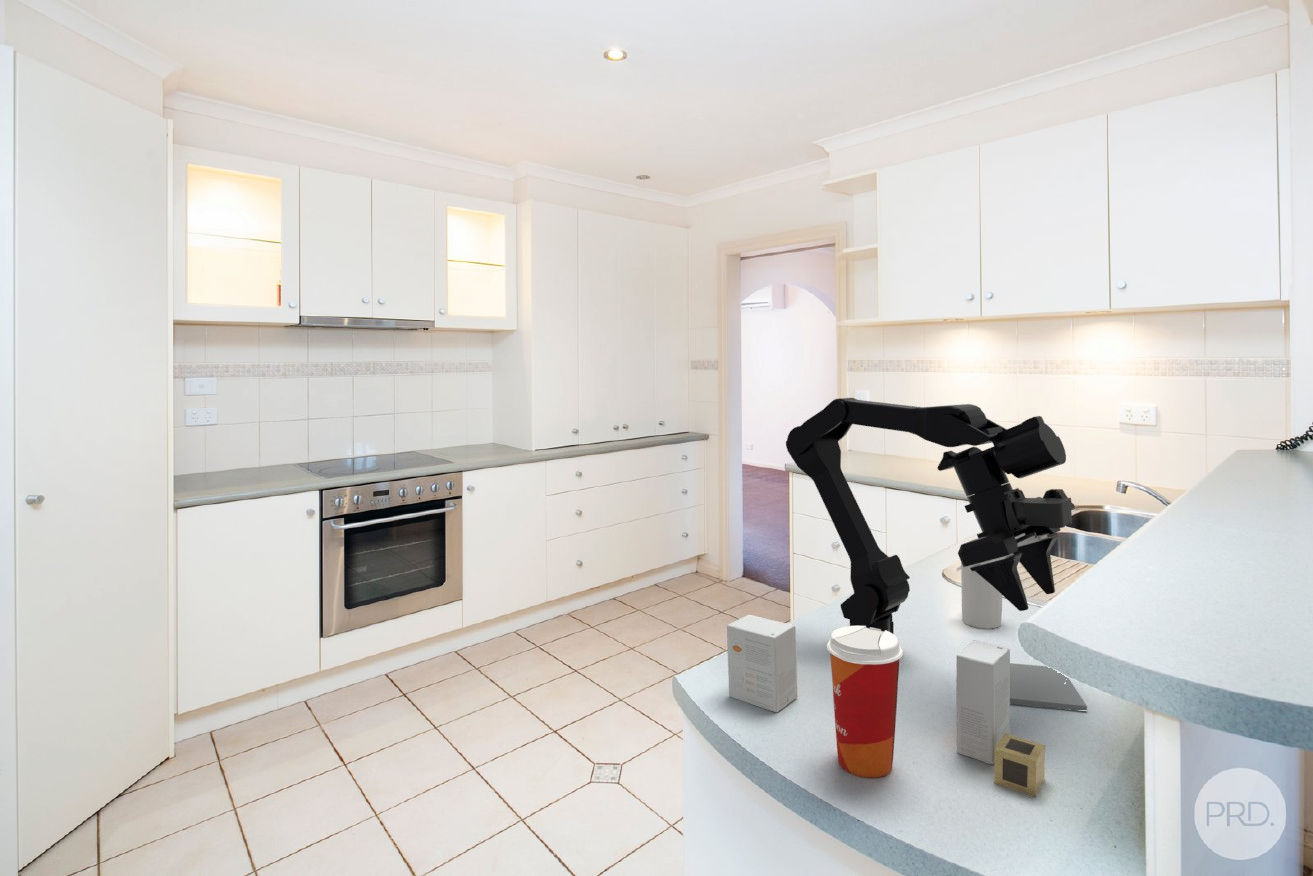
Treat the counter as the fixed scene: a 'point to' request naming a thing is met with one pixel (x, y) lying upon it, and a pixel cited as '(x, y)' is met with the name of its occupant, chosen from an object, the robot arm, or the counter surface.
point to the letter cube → (1019, 764)
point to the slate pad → (1042, 688)
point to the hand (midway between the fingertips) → (1038, 601)
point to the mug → (979, 601)
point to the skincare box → (982, 699)
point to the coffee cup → (865, 698)
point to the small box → (762, 662)
